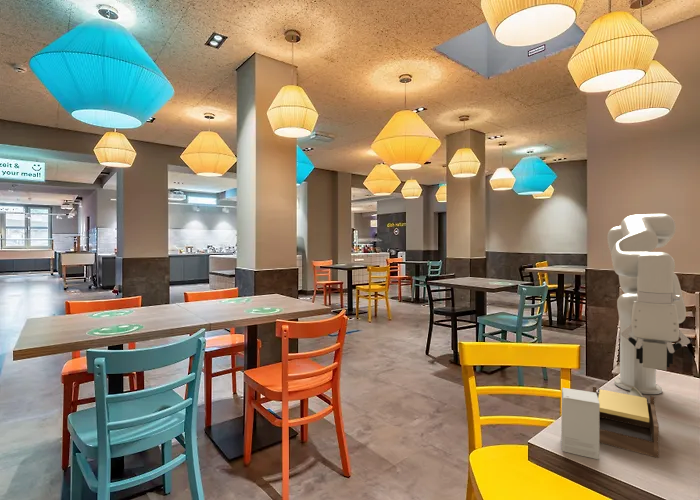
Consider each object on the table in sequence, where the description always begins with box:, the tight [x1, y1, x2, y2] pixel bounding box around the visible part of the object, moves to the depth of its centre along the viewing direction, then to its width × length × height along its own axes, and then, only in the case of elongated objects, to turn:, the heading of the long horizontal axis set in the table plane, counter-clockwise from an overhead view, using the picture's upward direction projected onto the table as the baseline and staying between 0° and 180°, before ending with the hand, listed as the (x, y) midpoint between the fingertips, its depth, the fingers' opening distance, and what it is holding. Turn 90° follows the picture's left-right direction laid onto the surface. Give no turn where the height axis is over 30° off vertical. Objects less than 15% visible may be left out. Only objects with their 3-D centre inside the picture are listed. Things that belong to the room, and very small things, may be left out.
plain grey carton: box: [642, 339, 668, 372], centre depth 103 cm, size 5×5×7 cm
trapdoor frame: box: [592, 385, 660, 459], centre depth 94 cm, size 17×13×8 cm
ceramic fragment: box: [627, 387, 644, 397], centre depth 114 cm, size 14×5×4 cm, turn 158°
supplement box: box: [560, 387, 600, 460], centre depth 87 cm, size 7×7×13 cm
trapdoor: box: [597, 388, 649, 422], centre depth 94 cm, size 14×11×1 cm
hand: (653, 363), depth 103 cm, fingers closed on plain grey carton, 5 cm apart
